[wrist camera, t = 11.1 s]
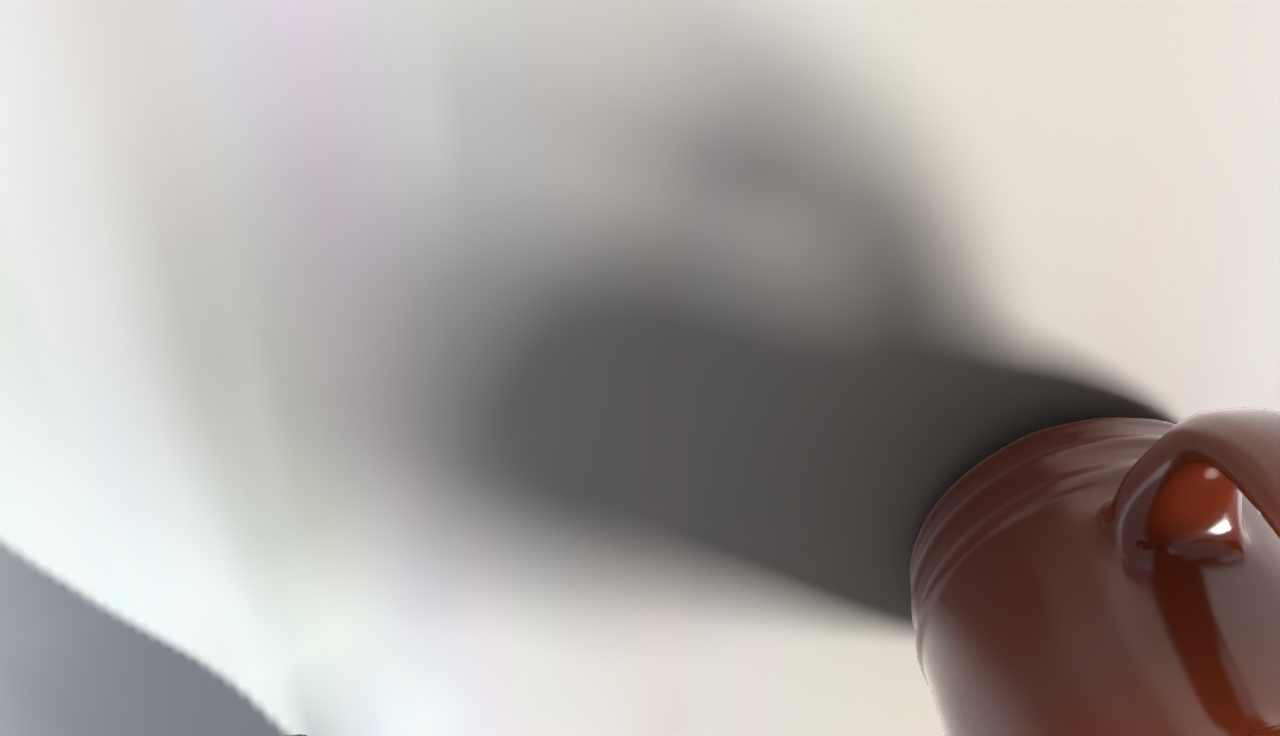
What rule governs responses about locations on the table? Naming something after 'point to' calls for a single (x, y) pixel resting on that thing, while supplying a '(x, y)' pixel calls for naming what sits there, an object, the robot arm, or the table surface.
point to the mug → (1108, 582)
